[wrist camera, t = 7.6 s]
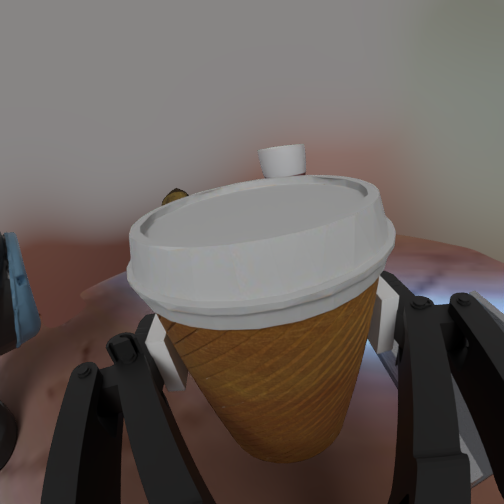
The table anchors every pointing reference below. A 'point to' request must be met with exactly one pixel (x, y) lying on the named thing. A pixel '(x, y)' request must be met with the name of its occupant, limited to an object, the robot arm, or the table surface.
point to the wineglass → (283, 161)
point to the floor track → (459, 406)
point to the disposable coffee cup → (268, 300)
